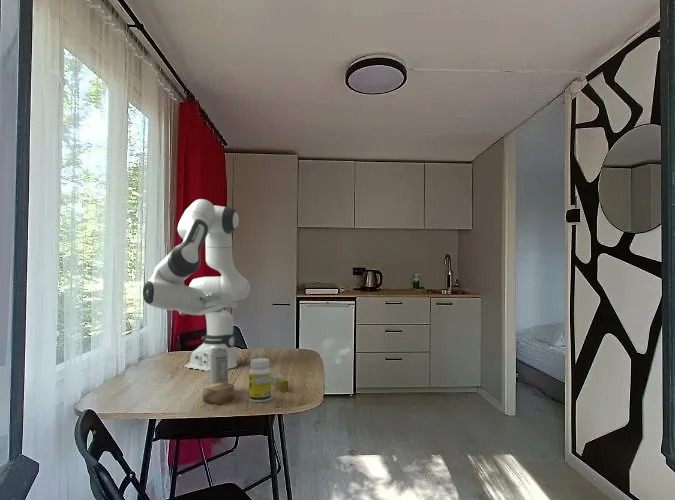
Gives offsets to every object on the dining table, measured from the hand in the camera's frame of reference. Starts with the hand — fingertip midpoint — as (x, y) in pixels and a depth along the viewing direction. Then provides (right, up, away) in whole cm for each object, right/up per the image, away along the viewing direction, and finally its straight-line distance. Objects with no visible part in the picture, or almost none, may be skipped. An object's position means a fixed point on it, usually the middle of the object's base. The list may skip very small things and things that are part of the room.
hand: (228, 308), depth 167 cm
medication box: (+18, -29, +1) cm, 34 cm away
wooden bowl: (0, -28, -12) cm, 31 cm away
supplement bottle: (+13, -28, -13) cm, 34 cm away
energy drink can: (-3, -29, -2) cm, 29 cm away
